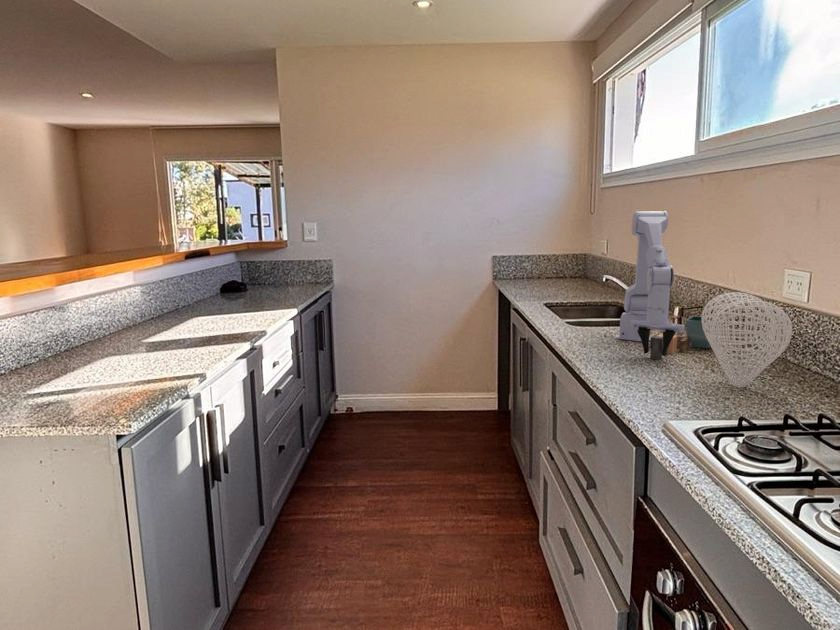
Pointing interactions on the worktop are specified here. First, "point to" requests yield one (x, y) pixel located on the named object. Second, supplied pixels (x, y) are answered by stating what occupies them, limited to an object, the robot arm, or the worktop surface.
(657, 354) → the tethered block
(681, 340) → the lane
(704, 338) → the flower pot
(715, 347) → the heart
